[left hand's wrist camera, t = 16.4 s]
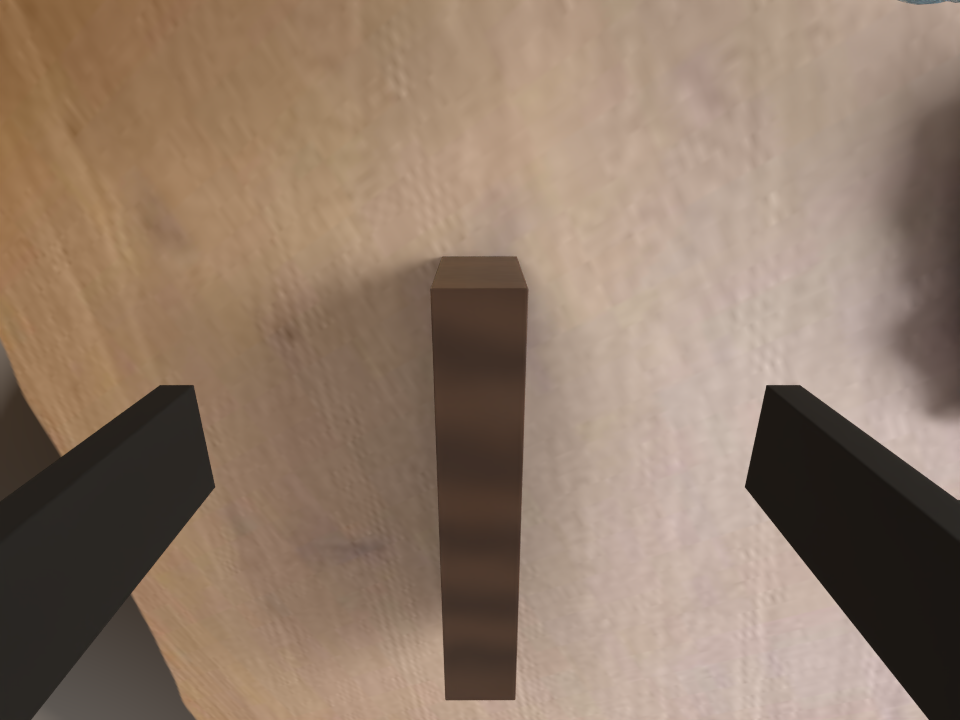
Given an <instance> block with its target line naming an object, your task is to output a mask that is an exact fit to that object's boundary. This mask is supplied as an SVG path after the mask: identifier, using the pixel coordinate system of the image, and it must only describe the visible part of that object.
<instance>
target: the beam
mask: <svg viewBox="0 0 960 720" xmlns="http://www.w3.org/2000/svg"><path fill="white" fill-rule="evenodd" d="M527 313H528V287H527V284H526V282H525V279H524V276H523V273H522V270H521V268H520V265H519V262H518V259H517V257H442V259H441V262H440V265H439V267H438V270H437V273H436V276H435V279H434V281H433V284H432V287H431V316H432V343H433V371H434V399H435V426H436V454H437V482H438V509H439V537H440V565H441V592H442V620H443V648H444V675H445V699H446V700H515V694H516V662H517V630H518V599H519V567H520V535H521V503H522V472H523V440H524V408H525V377H526V345H527Z"/></svg>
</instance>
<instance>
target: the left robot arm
mask: <svg viewBox="0 0 960 720" xmlns="http://www.w3.org/2000/svg"><path fill="white" fill-rule="evenodd" d="M899 1H902V2H906V3H911V4H934V3H941V2H945V1H949V2H954V3H958V2H960V0H899ZM214 488H215V484H214V479H213V475H212V470H211V465H210V461H209V456H208V451H207V446H206V442H205V437H204V432H203V428H202V423H201V418H200V414H199V409H198V404H197V399H196V395H195V390H194V385H160V386H158V387H157V388H156V389H154V390H153V391H151V392H150V393H149V394H147V395H146V396H145V397H143V398H142V399H140V400H139V401H138V402H136V403H135V404H134V405H132V406H131V407H130V408H128V409H127V410H125V411H124V412H123V413H121V414H120V415H119V416H117V417H116V418H114V419H113V420H112V421H110V422H109V423H108V424H106V425H105V426H103V427H102V428H101V429H99V430H98V431H97V432H95V433H94V434H92V435H91V436H90V437H88V438H87V439H86V440H84V441H83V442H81V443H80V444H79V445H77V446H76V447H75V448H73V449H72V450H70V451H69V452H68V453H66V454H65V455H64V456H62V457H61V458H59V459H58V460H57V461H55V462H54V463H53V464H51V465H50V466H49V467H47V468H46V469H44V470H43V471H42V472H40V473H39V474H37V475H36V476H35V477H33V478H32V479H31V480H29V481H28V482H27V483H25V484H24V485H22V486H21V487H20V488H18V489H17V490H16V491H14V492H13V493H11V494H10V495H9V496H7V497H6V498H5V499H3V500H2V501H1V502H0V720H31V719H32V718H33V717H34V715H35V714H36V713H37V712H38V710H39V709H40V708H41V707H42V705H43V704H44V703H45V701H46V700H47V699H48V698H49V696H50V695H51V694H52V693H53V691H54V690H55V689H56V688H57V686H58V685H59V684H60V682H61V681H62V680H63V679H64V677H65V676H66V675H67V674H68V672H69V671H70V670H71V668H72V667H73V666H74V665H75V663H76V662H77V661H78V660H79V658H80V657H81V656H82V655H83V653H84V652H85V651H86V650H87V648H88V647H89V646H90V645H91V643H92V642H93V641H94V639H95V638H96V637H97V636H98V634H99V633H100V632H101V631H102V629H103V628H104V627H105V626H106V624H107V623H108V622H109V621H110V619H111V618H112V617H113V615H114V614H115V613H116V612H117V610H118V609H119V608H120V607H121V605H122V604H123V603H124V602H125V600H126V599H127V598H128V597H129V595H130V594H131V593H132V591H133V590H134V589H135V588H136V586H137V585H138V584H139V583H140V581H141V580H142V579H143V578H144V576H145V575H146V574H147V573H148V571H149V570H150V569H151V567H152V566H153V565H154V564H155V562H156V561H157V560H158V559H159V557H160V556H161V555H162V554H163V552H164V551H165V550H166V549H167V547H168V546H169V545H170V543H171V542H172V541H173V540H174V538H175V537H176V536H177V535H178V533H179V532H180V531H181V530H182V528H183V527H184V526H185V525H186V523H187V522H188V521H189V519H190V518H191V517H192V516H193V514H194V513H195V512H196V511H197V509H198V508H199V507H200V506H201V504H202V503H203V502H204V500H205V499H206V498H207V497H208V495H209V494H210V493H211V492H212V490H213V489H214ZM745 488H746V489H747V490H748V492H749V493H750V494H751V495H752V497H753V498H754V499H755V500H756V502H757V503H758V504H759V506H760V507H761V508H762V509H763V511H764V512H765V513H766V514H767V516H768V517H769V518H770V519H771V521H772V522H773V523H774V525H775V526H776V527H777V528H778V530H779V531H780V532H781V533H782V535H783V536H784V537H785V538H786V540H787V541H788V542H789V543H790V545H791V546H792V547H793V549H794V550H795V551H796V552H797V554H798V555H799V556H800V557H801V559H802V560H803V561H804V562H805V564H806V565H807V566H808V567H809V569H810V570H811V571H812V573H813V574H814V575H815V576H816V578H817V579H818V580H819V581H820V583H821V584H822V585H823V586H824V588H825V589H826V590H827V591H828V593H829V594H830V595H831V597H832V598H833V599H834V600H835V602H836V603H837V604H838V605H839V607H840V608H841V609H842V610H843V612H844V613H845V614H846V616H847V617H848V618H849V619H850V621H851V622H852V623H853V624H854V626H855V627H856V628H857V629H858V631H859V632H860V633H861V634H862V636H863V637H864V638H865V640H866V641H867V642H868V643H869V645H870V646H871V647H872V648H873V650H874V651H875V652H876V653H877V655H878V656H879V657H880V658H881V660H882V661H883V662H884V664H885V665H886V666H887V667H888V669H889V670H890V671H891V672H892V674H893V675H894V676H895V677H896V679H897V680H898V681H899V682H900V684H901V685H902V686H903V688H904V689H905V690H906V691H907V693H908V694H909V695H910V696H911V698H912V699H913V700H914V701H915V703H916V704H917V705H918V707H919V708H920V709H921V710H922V712H923V713H924V714H925V715H926V717H927V718H928V719H929V720H960V500H957V499H955V498H954V497H953V496H951V495H950V494H949V493H947V492H946V491H944V490H943V489H942V488H940V487H939V486H938V485H936V484H935V483H933V482H932V481H931V480H929V479H928V478H927V477H925V476H924V475H923V474H921V473H920V472H918V471H917V470H916V469H914V468H913V467H912V466H910V465H909V464H907V463H906V462H905V461H903V460H902V459H901V458H899V457H898V456H896V455H895V454H894V453H892V452H891V451H890V450H888V449H887V448H885V447H884V446H883V445H881V444H880V443H879V442H877V441H876V440H874V439H873V438H872V437H870V436H869V435H868V434H866V433H865V432H863V431H862V430H861V429H859V428H858V427H857V426H855V425H854V424H852V423H851V422H850V421H848V420H847V419H846V418H844V417H843V416H841V415H840V414H839V413H837V412H836V411H835V410H833V409H832V408H830V407H829V406H828V405H826V404H825V403H824V402H822V401H821V400H820V399H818V398H817V397H815V396H814V395H813V394H811V393H810V392H809V391H807V390H806V389H804V388H803V387H802V386H800V385H766V390H765V395H764V399H763V404H762V409H761V414H760V418H759V423H758V428H757V432H756V437H755V442H754V446H753V451H752V456H751V461H750V465H749V470H748V475H747V479H746V484H745Z"/></svg>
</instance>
